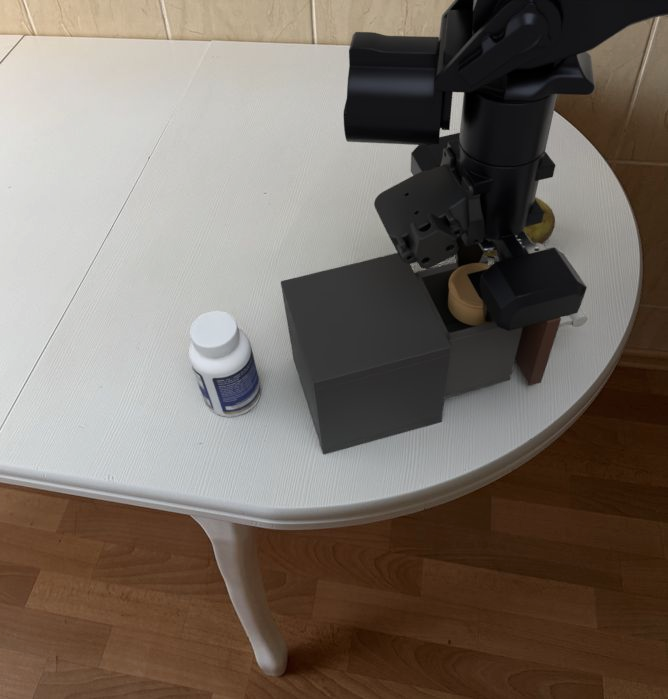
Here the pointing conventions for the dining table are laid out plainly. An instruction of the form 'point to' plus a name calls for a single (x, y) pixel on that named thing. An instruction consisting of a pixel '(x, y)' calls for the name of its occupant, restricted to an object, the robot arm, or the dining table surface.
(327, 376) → the dark grey cube
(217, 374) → the pill bottle
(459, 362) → the drawer
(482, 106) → the robot arm
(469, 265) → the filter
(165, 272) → the dining table surface
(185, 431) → the dining table surface
